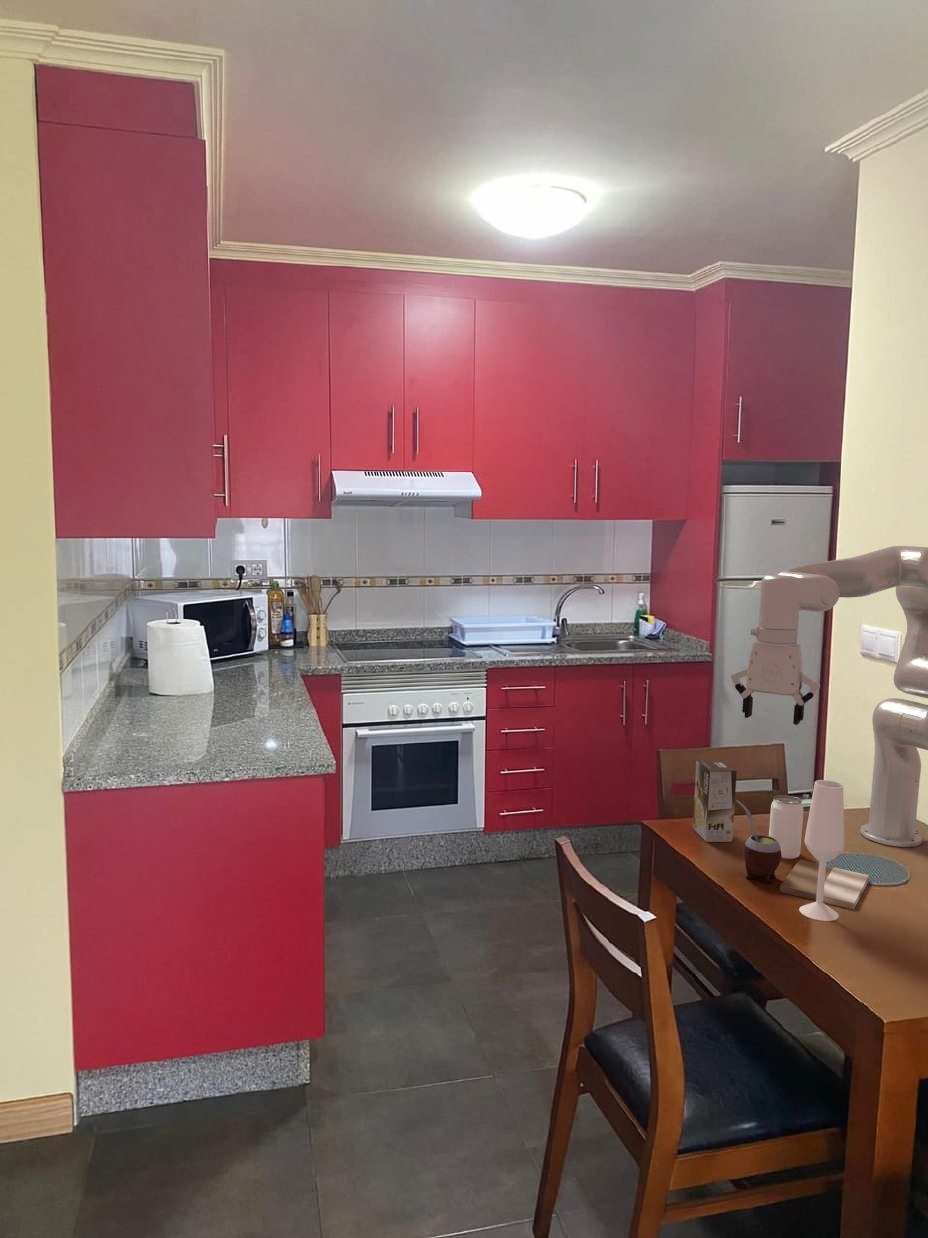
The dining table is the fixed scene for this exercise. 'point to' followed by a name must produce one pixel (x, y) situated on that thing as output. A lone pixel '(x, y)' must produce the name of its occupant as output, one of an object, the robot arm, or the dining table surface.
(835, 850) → the champagne flute
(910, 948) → the dining table surface
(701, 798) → the coffee box
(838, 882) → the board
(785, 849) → the can
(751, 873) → the mate gourd
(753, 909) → the dining table surface
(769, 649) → the robot arm
